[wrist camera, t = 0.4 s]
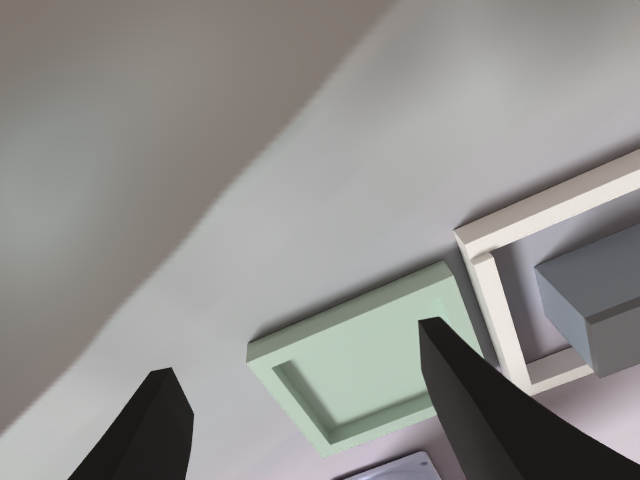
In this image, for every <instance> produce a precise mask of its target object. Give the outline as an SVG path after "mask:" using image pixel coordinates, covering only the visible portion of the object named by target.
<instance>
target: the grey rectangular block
mask: <svg viewBox="0 0 640 480" xmlns="http://www.w3.org/2000/svg"><path fill="white" fill-rule="evenodd" d="M534 270H535V274H536V279H537V283H538V287H539V291H540V295H541V299H542V303H543V308H544V312H545V316H546V317H547V318H548V319H549V320H550V322H551V323H552V324H553V325H554V326H555V327H556V328H557V330H558V331H559V332H560V333H561V334H562V335H563V336H564V338H565V339H566V340H567V341H568V342H569V343H570V345H571V346H572V347H573V348H574V349H575V350H576V351H577V353H578V354H579V355H580V356H581V357H582V358H583V360H584V361H585V362H586V363H587V364H588V365H589V366H590V368H591V369H592V370H593V371H594V372H595V373H596V374H597V376H598V377H599V378H602V377H605V376H608V375H611V374H613V373H616V372H619V371H621V370H624V369H627V368H629V367H632V366H635V365H638V364H640V223H638V224H636V225H634V226H631V227H629V228H626V229H624V230H621V231H619V232H617V233H614V234H612V235H609V236H607V237H605V238H602V239H600V240H597V241H595V242H593V243H590V244H588V245H585V246H583V247H580V248H578V249H576V250H573V251H571V252H568V253H566V254H564V255H561V256H559V257H556V258H554V259H552V260H549V261H547V262H544V263H542V264H539V265H537V266H535V267H534Z"/></svg>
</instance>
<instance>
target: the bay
mask: <svg viewBox="0 0 640 480" xmlns="http://www.w3.org/2000/svg"><path fill="white" fill-rule="evenodd" d="M638 188H640V149H638V150H636V151H633V152H631V153H629V154H626V155H624V156H622V157H620V158H617V159H615V160H613V161H610V162H608V163H606V164H604V165H601V166H599V167H597V168H594V169H592V170H590V171H588V172H585V173H583V174H581V175H579V176H576V177H574V178H572V179H569V180H567V181H565V182H563V183H560V184H558V185H556V186H553V187H551V188H549V189H547V190H544V191H542V192H540V193H537V194H535V195H533V196H531V197H528V198H526V199H524V200H521V201H519V202H517V203H515V204H512V205H510V206H508V207H505V208H503V209H501V210H499V211H496V212H494V213H492V214H490V215H487V216H485V217H483V218H480V219H478V220H476V221H474V222H471V223H469V224H467V225H464V226H462V227H460V228H458V229H455V230H453V231H454V234H455V237H456V240H457V243H458V246H459V248H460V251H461V254H462V257H463V260H464V263H465V266H466V269H467V272H468V274H469V277H470V280H471V283H472V286H473V289H474V292H475V295H476V298H477V301H478V303H479V306H480V309H481V312H482V315H483V318H484V321H485V324H486V327H487V329H488V332H489V335H490V338H491V341H492V344H493V347H494V350H495V353H496V355H497V358H498V361H499V364H500V367H501V370H502V373H503V376H505V377H506V378H507V379H508V380H510V381H511V382H512V383H513V384H515V385H516V386H517V387H518V388H520V389H521V390H522V391H524V392H525V393H526V394H528V395H529V396H532V395H535V394H538V393H540V392H543V391H546V390H548V389H551V388H554V387H556V386H559V385H562V384H564V383H567V382H570V381H573V380H575V379H578V378H581V377H583V376H586V375H589V374H591V373H594V371H593V370H592V369H591V368H590V366H589V365H588V364H587V363H586V362H585V361H584V360H583V358H582V357H581V356H580V355H579V354H578V353H577V351H576V350H575V349H574V348H573V347H570V348H568V349H565V350H562V351H560V352H557V353H555V354H552V355H549V356H547V357H544V358H541V359H539V360H536V361H534V362H531V363H528V364H525V361H524V358H523V354H522V351H521V348H520V344H519V341H518V338H517V334H516V331H515V328H514V324H513V321H512V318H511V314H510V311H509V307H508V304H507V301H506V297H505V294H504V291H503V287H502V284H501V281H500V277H499V274H498V271H497V267H496V264H495V261H494V257H493V256H492V255H491V254H490V253H489V252H490V251H492V250H495V249H497V248H499V247H502V246H504V245H506V244H509V243H511V242H513V241H516V240H518V239H521V238H523V237H525V236H528V235H530V234H532V233H535V232H537V231H539V230H542V229H544V228H546V227H549V226H551V225H553V224H556V223H558V222H560V221H563V220H565V219H568V218H570V217H572V216H575V215H577V214H579V213H582V212H584V211H586V210H589V209H591V208H593V207H596V206H598V205H600V204H603V203H605V202H607V201H610V200H612V199H614V198H617V197H619V196H622V195H624V194H626V193H629V192H631V191H633V190H636V189H638Z"/></svg>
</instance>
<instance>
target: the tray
mask: <svg viewBox="0 0 640 480" xmlns="http://www.w3.org/2000/svg"><path fill="white" fill-rule="evenodd" d="M437 316H439V317H441V318H442V319H443V320H444V321H445V322H446V323H447V324H448V325H449V326H450V327H451V328H452V329H453V330H454V331H455V332H456V333H457V334H458V335H459V336H460V337H461V338H462V339H463V340H464V341H465V342H466V343H467V344H468V345H469V346H471V347H472V348H473V349H474V350H475V351H476V352H477V353H478V354H479V355H480V356H481V357H483V358H484V356H483V354H482V351H481V348H480V346H479V343H478V340H477V338H476V335H475V332H474V329H473V327H472V324H471V321H470V319H469V316H468V313H467V311H466V308H465V305H464V302H463V300H462V297H461V294H460V292H459V289H458V286H457V283H456V281H455V278H454V275H453V274H452V272H451V271H450V269H449V268H448V266H447V265H446V263H445V262H444V260H442V261H439V262H437V263H435V264H432V265H430V266H428V267H425V268H423V269H421V270H418V271H416V272H414V273H411V274H409V275H407V276H404V277H402V278H400V279H397V280H395V281H393V282H390V283H388V284H386V285H383V286H381V287H379V288H376V289H374V290H372V291H369V292H367V293H365V294H363V295H360V296H358V297H356V298H353V299H351V300H349V301H346V302H344V303H342V304H339V305H337V306H335V307H332V308H330V309H328V310H325V311H323V312H321V313H318V314H316V315H314V316H311V317H309V318H307V319H304V320H302V321H300V322H297V323H295V324H293V325H290V326H288V327H286V328H283V329H281V330H279V331H276V332H274V333H272V334H269V335H267V336H265V337H262V338H260V339H258V340H255V341H253V342H251V343H248V346H247V358H246V364H247V365H248V366H249V367H250V369H251V370H252V371H253V372H254V374H255V375H256V376H257V377H258V379H259V380H260V381H261V382H262V384H263V385H264V386H265V387H266V389H267V390H268V391H269V392H270V394H271V395H272V396H273V397H274V398H275V400H276V401H277V402H278V403H279V405H280V406H281V407H282V408H283V410H284V411H285V412H286V413H287V415H288V416H289V417H290V418H291V420H292V421H293V422H294V423H295V425H296V426H297V427H298V428H299V430H300V431H301V432H302V433H303V435H304V436H305V437H306V438H307V439H308V441H309V442H310V443H311V444H312V446H313V447H314V448H315V449H316V451H317V452H318V453H319V454H320V456H321V457H322V458H325V457H328V456H331V455H333V454H336V453H339V452H341V451H344V450H347V449H349V448H352V447H354V446H357V445H360V444H362V443H365V442H368V441H370V440H373V439H376V438H378V437H381V436H384V435H386V434H389V433H392V432H394V431H397V430H400V429H402V428H405V427H407V426H410V425H413V424H415V423H418V422H421V421H423V420H426V419H429V418H431V417H434V416H437V413H436V411H435V409H434V407H433V404H432V402H431V399H430V396H429V393H428V390H427V387H426V384H425V381H424V378H423V375H422V371H421V360H420V345H419V329H418V320H422V319H427V318H432V317H437Z"/></svg>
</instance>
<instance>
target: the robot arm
mask: <svg viewBox="0 0 640 480" xmlns="http://www.w3.org/2000/svg"><path fill="white" fill-rule="evenodd" d="M418 329H419V345H420V360H421V371H422V375H423V378H424V381H425V384H426V387H427V390H428V393H429V396H430V399H431V402H432V404H433V407H434V409H435V411H436V413H437V415H438V418H439V420H440V422H441V424H442V426H443V429H444V431H445V433H446V435H447V437H448V439H449V442H450V444H451V446H452V448H453V450H454V452H455V455H456V457H457V459H458V461H459V463H460V466H461V468H462V470H463V472H464V474H465V476H466V479H467V480H640V465H639V464H637V463H636V462H634V461H632V460H630V459H628V458H626V457H624V456H623V455H621V454H619V453H617V452H616V451H614V450H612V449H611V448H609V447H607V446H605V445H604V444H602V443H600V442H599V441H597V440H595V439H593V438H592V437H590V436H588V435H587V434H585V433H583V432H582V431H580V430H578V429H577V428H575V427H574V426H572V425H571V424H569V423H568V422H566V421H565V420H563V419H561V418H560V417H558V416H557V415H556V414H554V413H553V412H551V411H550V410H548V409H547V408H545V407H544V406H542V405H541V404H540V403H538V402H537V401H536V400H534V399H533V398H532V397H530V396H529V395H528V394H526V393H525V392H524V391H522V390H521V389H520V388H518V387H517V386H516V385H515V384H513V383H512V382H511V381H510V380H508V379H507V378H506V377H505V376H503V375H502V374H501V373H500V372H499V371H497V370H496V369H495V368H494V367H493V366H492V365H491V364H489V363H488V362H487V361H486V360H485V359H484V358H483V357H481V356H480V355H479V354H478V353H477V352H476V351H475V350H474V349H473V348H472V347H471V346H469V345H468V344H467V343H466V342H465V341H464V340H463V339H462V338H461V337H460V336H459V335H458V334H457V333H456V332H455V331H454V330H453V329H452V328H451V327H450V326H449V325H448V324H447V323H446V322H445V321H444V320H443V319H442V318H441V317H439V316H437V317H432V318H427V319H422V320H418ZM193 421H194V413H193V411H192V409H191V407H190V404H189V402H188V400H187V398H186V396H185V394H184V392H183V390H182V388H181V386H180V384H179V382H178V380H177V377H176V375H175V373H174V371H173V369H172V367H171V368H165V369H160V370H155V371H151V372H150V373H149V374H148V376H147V377H146V378H145V380H144V381H143V382H142V384H141V385H140V387H139V388H138V389H137V391H136V392H135V393H134V395H133V396H132V397H131V399H130V400H129V402H128V403H127V404H126V406H125V407H124V408H123V410H122V411H121V413H120V414H119V415H118V417H117V418H116V419H115V421H114V422H113V423H112V425H111V426H110V427H109V429H108V430H107V431H106V432H105V434H104V435H103V436H102V438H101V439H100V440H99V442H98V443H97V444H96V445H95V447H94V448H93V449H92V450H91V451H90V453H89V454H88V455H87V456H86V458H85V459H84V460H83V461H82V463H81V464H80V465H79V466H78V467H77V469H76V470H75V471H74V472H73V474H72V475H71V476H70V477H69V478H68V479H67V480H185V477H186V472H187V467H188V463H189V458H190V452H191V445H192V435H193ZM344 480H442V479H441V478H440V476H439V474H438V472H437V471H436V469H435V467H434V465H433V464H432V462H431V460H430V458H429V456H428V455H427V453H426V452H422V451H421V452H417V453H414V454H412V455H409V456H406V457H403V458H401V459H398V460H395V461H393V462H390V463H387V464H384V465H382V466H379V467H376V468H374V469H371V470H368V471H365V472H363V473H360V474H357V475H354V476H352V477H349V478H346V479H344Z"/></svg>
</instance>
